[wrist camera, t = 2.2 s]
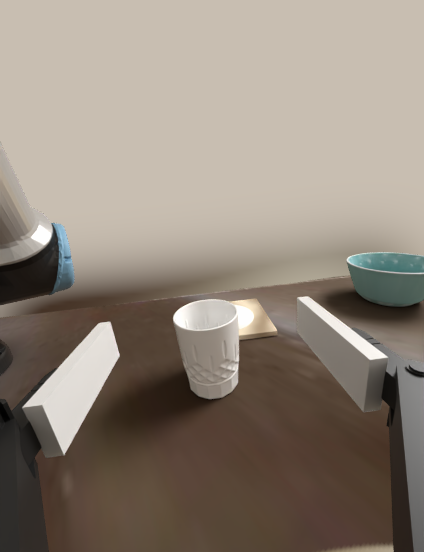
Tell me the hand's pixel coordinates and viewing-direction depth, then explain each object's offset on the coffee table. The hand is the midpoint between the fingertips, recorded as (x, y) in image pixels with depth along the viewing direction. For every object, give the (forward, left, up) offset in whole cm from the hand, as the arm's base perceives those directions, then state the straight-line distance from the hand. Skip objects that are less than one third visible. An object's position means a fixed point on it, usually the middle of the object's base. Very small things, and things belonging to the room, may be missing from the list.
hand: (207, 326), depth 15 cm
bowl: (+23, +40, -14) cm, 49 cm away
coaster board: (-8, +24, -14) cm, 29 cm away
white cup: (-5, +9, -14) cm, 17 cm away
